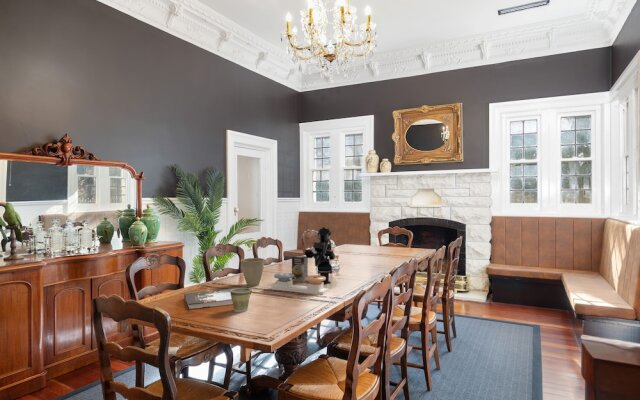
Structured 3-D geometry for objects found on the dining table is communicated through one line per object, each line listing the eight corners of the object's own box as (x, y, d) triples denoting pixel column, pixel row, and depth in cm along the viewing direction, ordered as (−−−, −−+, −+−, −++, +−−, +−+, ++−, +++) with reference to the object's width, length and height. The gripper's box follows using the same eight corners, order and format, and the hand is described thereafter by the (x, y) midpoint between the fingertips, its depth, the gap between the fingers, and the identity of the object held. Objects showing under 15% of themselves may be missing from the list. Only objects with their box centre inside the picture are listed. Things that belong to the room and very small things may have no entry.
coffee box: (291, 281, 267) (291, 256, 267) (295, 279, 273) (295, 255, 273) (304, 282, 264) (303, 257, 263) (308, 280, 270) (308, 256, 269)
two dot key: (270, 285, 243) (270, 275, 243) (280, 281, 254) (280, 271, 254) (288, 287, 238) (288, 276, 238) (297, 283, 249) (297, 273, 249)
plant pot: (267, 282, 264) (267, 257, 263) (261, 287, 249) (261, 261, 249) (244, 282, 265) (244, 257, 265) (237, 287, 250) (237, 261, 250)
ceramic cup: (241, 314, 194) (241, 293, 194) (226, 311, 199) (225, 291, 199) (259, 307, 205) (259, 288, 205) (244, 305, 210) (244, 285, 210)
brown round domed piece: (301, 289, 235) (301, 278, 235) (310, 284, 246) (310, 274, 246) (320, 290, 230) (320, 279, 230) (328, 286, 241) (328, 275, 241)
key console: (270, 289, 245) (270, 280, 245) (278, 286, 253) (278, 278, 253) (322, 294, 231) (322, 285, 231) (328, 291, 240) (328, 282, 239)
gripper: (305, 236, 255) (297, 257, 245) (333, 237, 248) (326, 258, 238) (310, 247, 263) (303, 267, 253) (337, 248, 255) (331, 269, 245)
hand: (315, 265), depth 247 cm, fingers closed
